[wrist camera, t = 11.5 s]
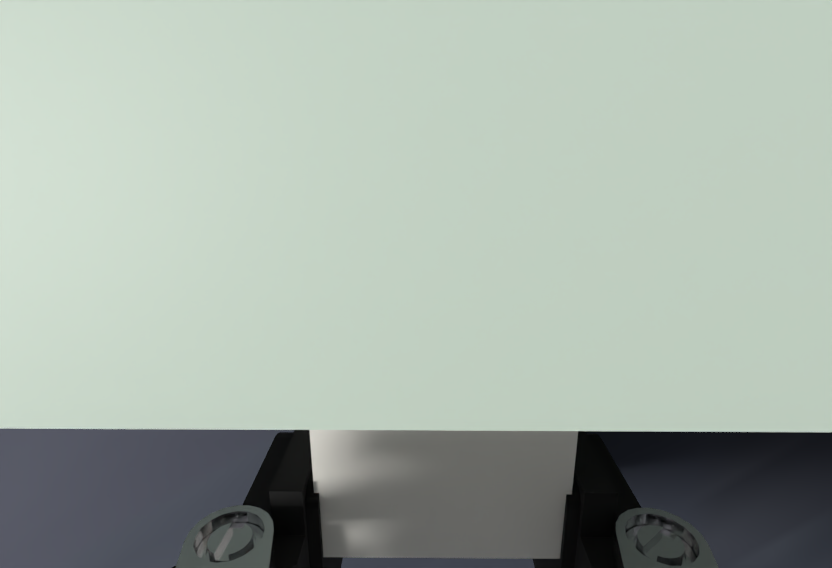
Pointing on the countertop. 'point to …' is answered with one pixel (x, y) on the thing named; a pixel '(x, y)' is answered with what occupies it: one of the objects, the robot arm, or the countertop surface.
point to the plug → (442, 492)
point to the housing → (416, 215)
